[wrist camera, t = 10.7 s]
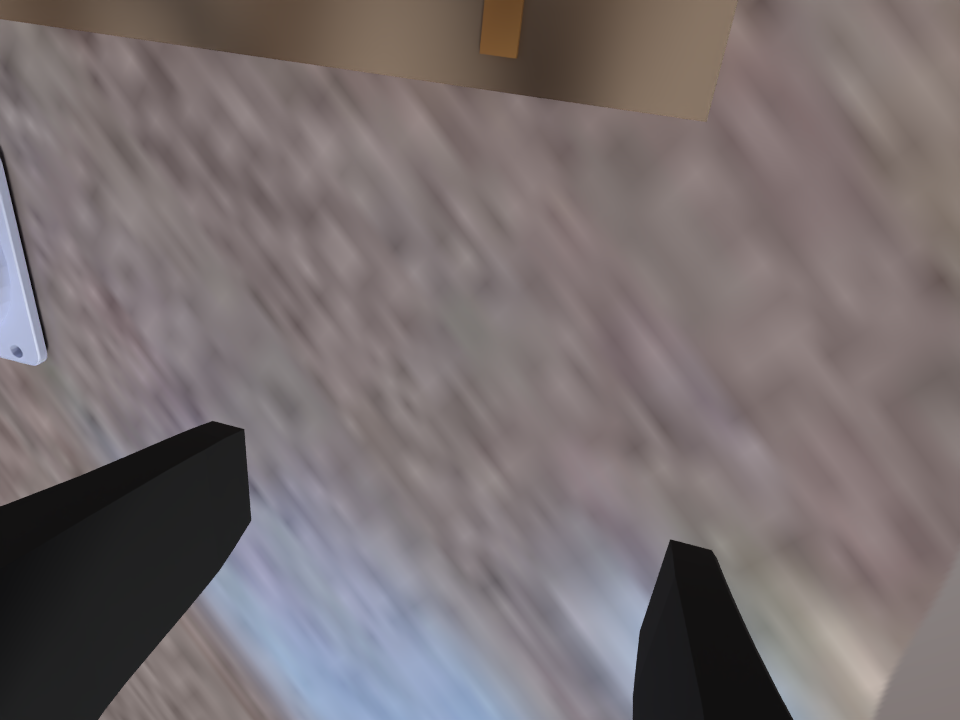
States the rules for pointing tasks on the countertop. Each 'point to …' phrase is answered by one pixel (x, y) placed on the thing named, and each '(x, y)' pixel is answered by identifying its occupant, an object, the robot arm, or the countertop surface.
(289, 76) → the countertop surface
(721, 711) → the robot arm
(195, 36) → the tan slider track board
